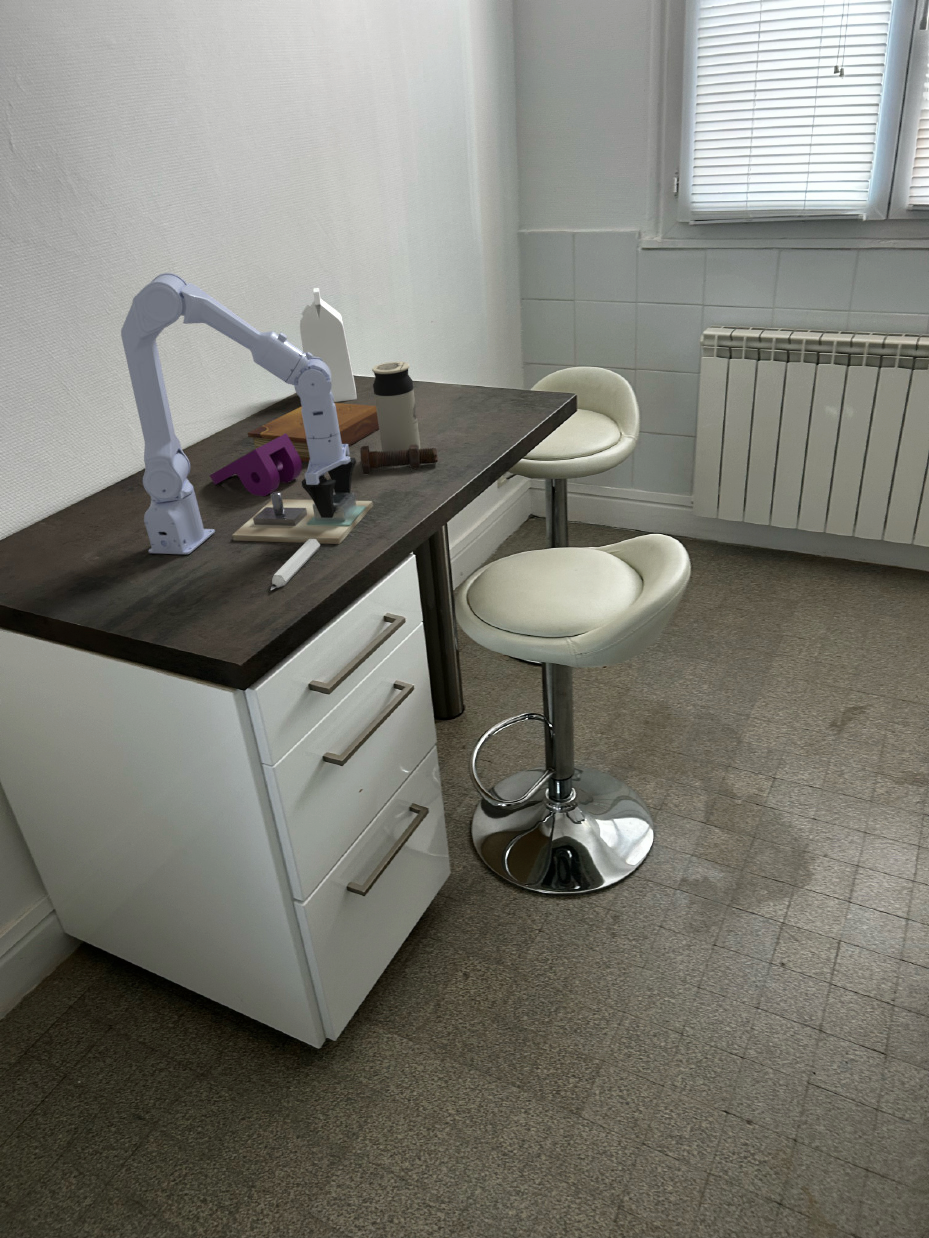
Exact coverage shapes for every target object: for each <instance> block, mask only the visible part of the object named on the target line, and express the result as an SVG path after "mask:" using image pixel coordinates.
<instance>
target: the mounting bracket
mask: <svg viewBox="0 0 929 1238" xmlns="http://www.w3.org/2000/svg"><path fill="white" fill-rule="evenodd" d="M302 465H303V464H302V461H301V459H300V457H299V455H298V453H297V451H296V449H295V448H294V446H293V444H292V442H291V440H290V439H289V437H288V435H287V433H286V434H284V435H282V436H280V437H278V438H276V439H274V440H272V441H270V442H268V443H267V444H265V445H263V446H261V447H259V448H257V449H254V450H251V451H250V452H248V453H246V454H244V455H243V456H240V457H239V458H238V459H237V460H234V461H233V462H230V463H228V464H227V465H225V466H224V467H222V468H220V469H218V470H216V471H215V472H213V473H211V474H209V478H210V480H211V481H212V482H213V485H214V486H215V485H218V484H220V483H221V482H223V481H225V480H227V479H229V478H231V477H232V476H234V475H237V476H238V478H239V479H240V482H241V483H242V484H243V486H244V488H245V489H246V490H247V491H248V493H250V494H251V495H253V496H260V497H265V496H268V495H269V494H270V495H271V493H273V492H276V490H277V489H278V487H279V486H280V483H282V482H283V483H282V484H288V483H290V482H292V481H294V480H296V479H297V478H298V477H299V476H300V475H301V472H302V469H303V468H302V467H303V466H302ZM284 482H285V483H284Z"/></svg>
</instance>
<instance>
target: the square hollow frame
mask: <svg viewBox="0 0 929 1238" xmlns="http://www.w3.org/2000/svg"><path fill="white" fill-rule="evenodd" d="M355 496H356V495H355V492H350V493H335V492H333V505H334V515H333V517H332V518H321V516H320V514H319V512H318V510H317V507H316V505H315V503H314V504H313V511H314V516H315V521H344V522H345V521H346V520H347V519H348V518H349V517H350V516H351V514H352V513H353V512H354V511H355V510H356V509H357V507H356V501H357V500H356V497H355Z"/></svg>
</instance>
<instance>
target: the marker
mask: <svg viewBox="0 0 929 1238" xmlns="http://www.w3.org/2000/svg"><path fill="white" fill-rule="evenodd" d="M320 547H321V543H318V541H317V540H316V539H309V540H308V541H307V542H306V543H303V545H302V546H300V547H299V548H298V549H297V550H296V552H295V553H294V554H293V555H291V557H290V558H289V559H288V560H286V561H285V563H284V564H283V565H281V567H280V568H279V569H278V570H277V571H276V572H275V573H274V574H273V577H272V580H271V583H272V584H271V588H270V591H272V590H275V589H277V588H281V587H284V586H286V584H287V583H288V582H289V581H290V580H291V579H292V578H293V577H294V576H295V575H296V574H297V573H298V572H299V571H300V570H301V569H302V567H303V566H305V564H306V563H307V562H308V561H309V560H310V559H311V558H312V557H313V556H314V555H315V553H317V552H318V551H319V549H320Z"/></svg>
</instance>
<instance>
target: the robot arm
mask: <svg viewBox="0 0 929 1238" xmlns="http://www.w3.org/2000/svg"><path fill="white" fill-rule="evenodd" d="M181 316H183V322H182V323H183V324H187V325H189V324H190V325H191V324H192V325H193V324H205V325H208V326H209V327H210V328H212V329H214V330H215V331H217V332H219V333H221V334H222V335H225V336H226V337H228V338H229V339H231V340H232V341H234V342H236V343H237V344H239V345H241V346H242V347H245V348H246V349H247V350H248V351H249V350H250V353H251V356H252V360H253V362H254V363H255V364H256V365H258V366H260V367H261V368H263V369H264V370H265V371H267V372H269V373H270V374H272V375H273V376H275V378H276V377H277V379H280V380H281V381H283V382H284V383H286V384H288V385H290V386H291V385H292V386H294V387H293V388H294V390H295V393H296V394H297V396H298V397H299V399H300V404H301V406H302V408H301V412H302V417H303V423H304V428H305V434H306V440H307V445H308V450H309V456H310V460H309V462H308V466H307V470H306V471H305V472H304V478H303V479H302V480H301V487H302V488H303V490H304V491H306V493H307V494H308V496H310V499H311V500H313V501H314V503H315V505H316V507H317V510H318V512H319V514H320V516H321V518H332V517H333V515H334V505H333V493H352V492H351V491H352V490H351V489H352V488H351V487H352V480H353V479H352V477H353V472H354V470H355V466H356V464H357V459H356V458H355V457H351V456H350V446H349V447H348V444H342V443H341V437H340V431H339V424H338V418H337V412H336V406H335V404H334V403H335V402H333V401H334V397H333V394H332V391H331V387H332V382H331V372H330V369H329V367H328V366H327V364H326V363H325V362H323V360H322V359H321V358H319V357H313V355H312V354H311V353H310V352H307V353H305V352H303V349H300V348H298V347H297V346H295V344H293V343H291V342H290V341H288V335H286V334H285V333H284V332H279V333H277V332H275V331H272V330H270V331H264V332H261V331H259V330H258V329H257V328H255V327H254V326H252V325H251V324H250V323H248V322H247V321H245V320H244V319H243V318H241V317H240V316H238V315H237V314H235V313H234V312H233V311H232V310H230V309H229V308H228V307H226V306H225V305H224V304H222V303H221V302H219V301H218V300H217V299H215V298H214V297H212V296H211V295H210V294H208V293H207V292H205V291H204V290H203V289H201V288H200V287H199V286H198V285H195V284H193V283H191V282H188V283H187V282H186V280H185V279H184V278H182V277H181V276H179V275H178V274H175V273H171V272H170V273H169V272H164V273H161V274H159V275H157V276H156V277H155V278H153V279H152V280H151V282H149V283H148V284H146V285H145V286H144V287H143V288H142V289H141V290H139V292H138V293H137V294H135V296H134V297H133V299H132V302H131V306H130V308H129V311H128V313H127V315H126V318H125V320H124V322H123V325H122V327H121V329H120V338H121V341H122V346H123V349H124V354H125V355H124V356H125V358H126V359H125V360H126V364H127V368H128V373H129V377H130V381H131V385H132V390H133V395H134V396H133V397H134V400H135V404H136V408H137V414H138V418H139V421H140V426H141V432H142V437H143V441H144V452H143V462H144V466H145V470H144V474H143V477H142V485H143V487H144V489H145V492H146V493H147V494H148V495H149V496H150V504H149V505H150V506H149V507H148V508H147V510H146V511H145V512H144V517H143V523H144V525H145V529H146V533H147V536H148V539H149V543H150V546H151V548H149V549H148V553H149V554H166V555H167V554H169V555H189V554H191V553H192V552H193V551H194V550H196V549H197V548H198V547H200V546H201V544H203V543H204V542H205V541H206V540H208V538H210V537H211V536H212V535H213V534H215V533H216V530H215V529H213V528H204V524H203V520H202V516H201V512H200V508H199V505H198V500H197V496H196V493H195V489H194V485H193V484H192V483H191V482H190V480H189V479H188V476H189V474H190V472H191V463H190V460H189V458H188V456H187V455H186V454H185V453H184V451H183V449H182V447H181V442H180V439H179V438H178V436H177V435H176V434H175V428H174V427H175V426H174V422H173V417H172V412H171V407H170V403H169V398H168V393H167V388H166V383H165V378H164V373H163V369H162V363H161V359H160V355H159V354H160V353H159V348H158V344H157V339H158V337H159V336H160V334H161V333H162V332H163V331H164V329H166V328H167V327H169V326H170V325H172V324H174V323H176V322H177V321H178V320H179V318H180V317H181ZM326 474H328V476H329V478H330V479H327V477H325V475H326Z"/></svg>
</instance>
